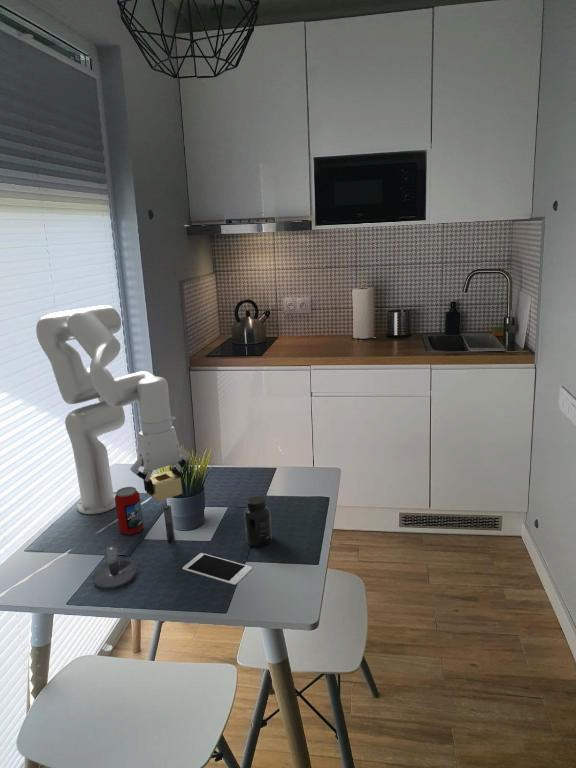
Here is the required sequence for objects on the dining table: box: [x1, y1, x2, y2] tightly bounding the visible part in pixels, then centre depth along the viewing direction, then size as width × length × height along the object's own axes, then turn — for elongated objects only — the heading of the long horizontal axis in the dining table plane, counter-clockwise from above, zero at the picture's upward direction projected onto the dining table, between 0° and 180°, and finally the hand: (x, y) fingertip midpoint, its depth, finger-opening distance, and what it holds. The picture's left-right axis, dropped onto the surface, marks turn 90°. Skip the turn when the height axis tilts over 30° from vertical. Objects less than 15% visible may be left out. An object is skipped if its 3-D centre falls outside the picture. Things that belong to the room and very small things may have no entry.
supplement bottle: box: [243, 495, 273, 548], centre depth 155 cm, size 7×7×12 cm
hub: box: [93, 545, 138, 590], centre depth 143 cm, size 10×10×8 cm
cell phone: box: [182, 552, 253, 586], centre depth 146 cm, size 8×16×1 cm, turn 60°
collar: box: [146, 470, 183, 502], centre depth 156 cm, size 7×7×4 cm
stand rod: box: [162, 504, 176, 543], centre depth 158 cm, size 2×2×10 cm
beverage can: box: [115, 486, 144, 535], centre depth 165 cm, size 7×7×12 cm
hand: (163, 488), depth 156 cm, fingers closed on collar, 7 cm apart
